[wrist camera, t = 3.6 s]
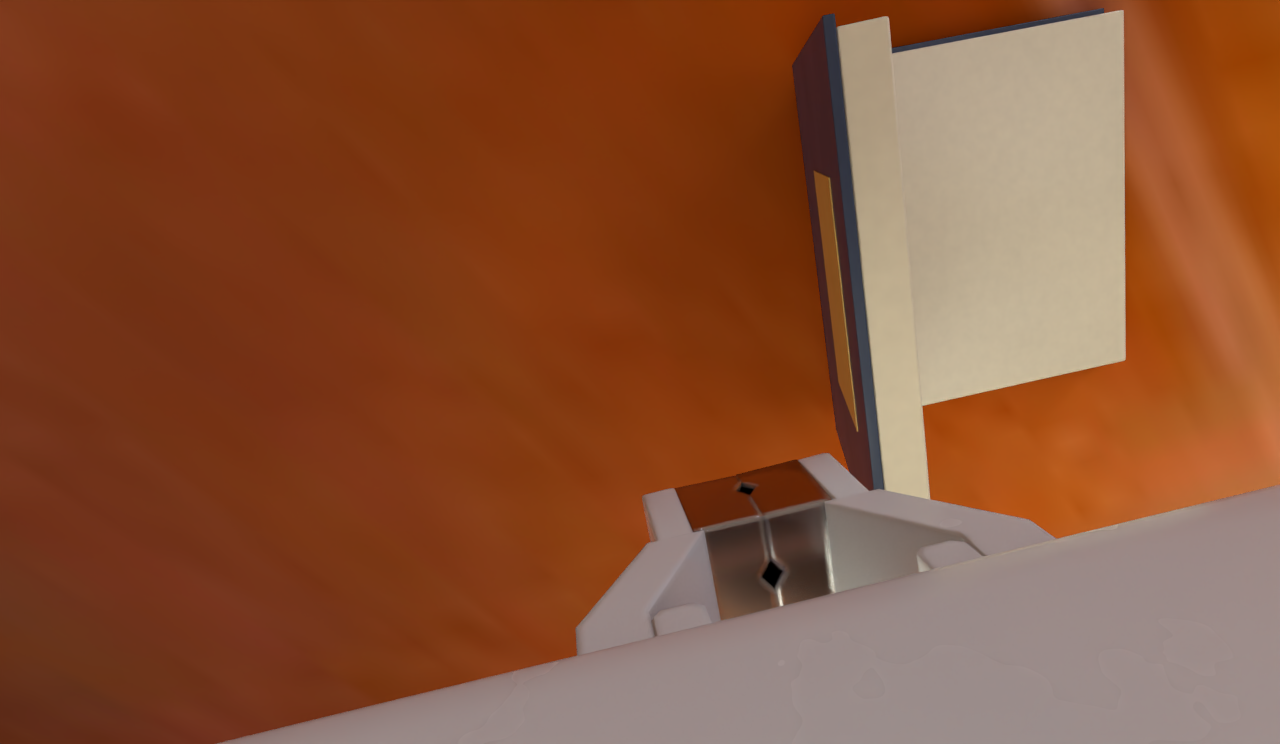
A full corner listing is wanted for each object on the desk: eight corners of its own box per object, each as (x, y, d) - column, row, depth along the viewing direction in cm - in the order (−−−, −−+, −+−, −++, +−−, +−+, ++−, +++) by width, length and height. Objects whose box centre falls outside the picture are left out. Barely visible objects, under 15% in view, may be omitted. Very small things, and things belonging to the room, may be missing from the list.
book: (1099, 9, 32) (1126, 1, 31) (1103, 358, 36) (1128, 366, 35) (817, 62, 31) (830, 56, 30) (856, 413, 36) (870, 424, 34)
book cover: (888, 0, 18) (820, 15, 18) (938, 580, 22) (882, 585, 22) (831, 56, 30) (791, 65, 30) (870, 424, 34) (835, 429, 34)
